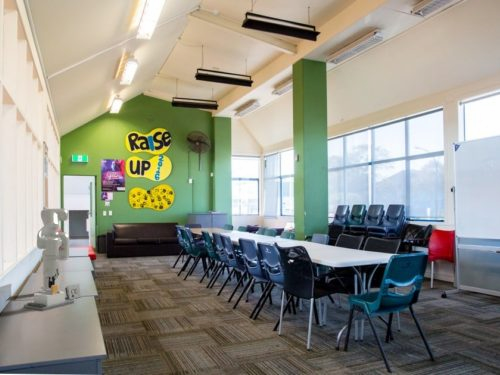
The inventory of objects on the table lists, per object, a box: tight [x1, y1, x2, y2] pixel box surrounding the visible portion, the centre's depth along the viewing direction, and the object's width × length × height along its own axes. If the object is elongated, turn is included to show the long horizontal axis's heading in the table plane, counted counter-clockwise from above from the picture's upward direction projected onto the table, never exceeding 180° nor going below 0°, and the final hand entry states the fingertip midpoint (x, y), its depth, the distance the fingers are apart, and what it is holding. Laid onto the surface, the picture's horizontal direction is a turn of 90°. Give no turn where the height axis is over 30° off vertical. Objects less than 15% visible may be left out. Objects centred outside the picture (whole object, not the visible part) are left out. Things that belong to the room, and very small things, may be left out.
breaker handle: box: [51, 284, 59, 294], centre depth 250 cm, size 2×3×5 cm, turn 152°
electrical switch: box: [64, 283, 82, 300], centre depth 270 cm, size 9×5×9 cm, turn 152°
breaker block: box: [23, 289, 75, 312], centre depth 252 cm, size 19×21×9 cm
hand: (51, 287), depth 251 cm, fingers closed
